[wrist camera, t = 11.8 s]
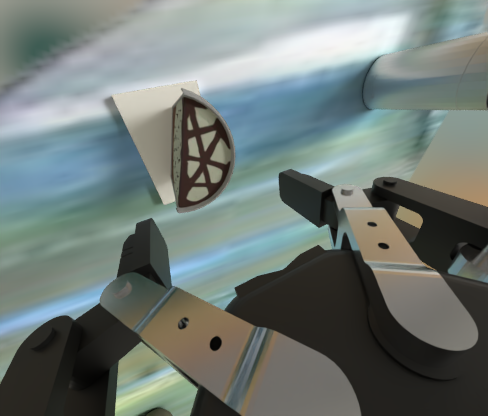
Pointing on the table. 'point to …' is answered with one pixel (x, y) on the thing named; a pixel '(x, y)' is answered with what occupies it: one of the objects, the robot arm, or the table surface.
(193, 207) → the brown lattice half cylinder
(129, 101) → the board
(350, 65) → the table surface
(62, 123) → the table surface
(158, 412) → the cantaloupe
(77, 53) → the table surface
